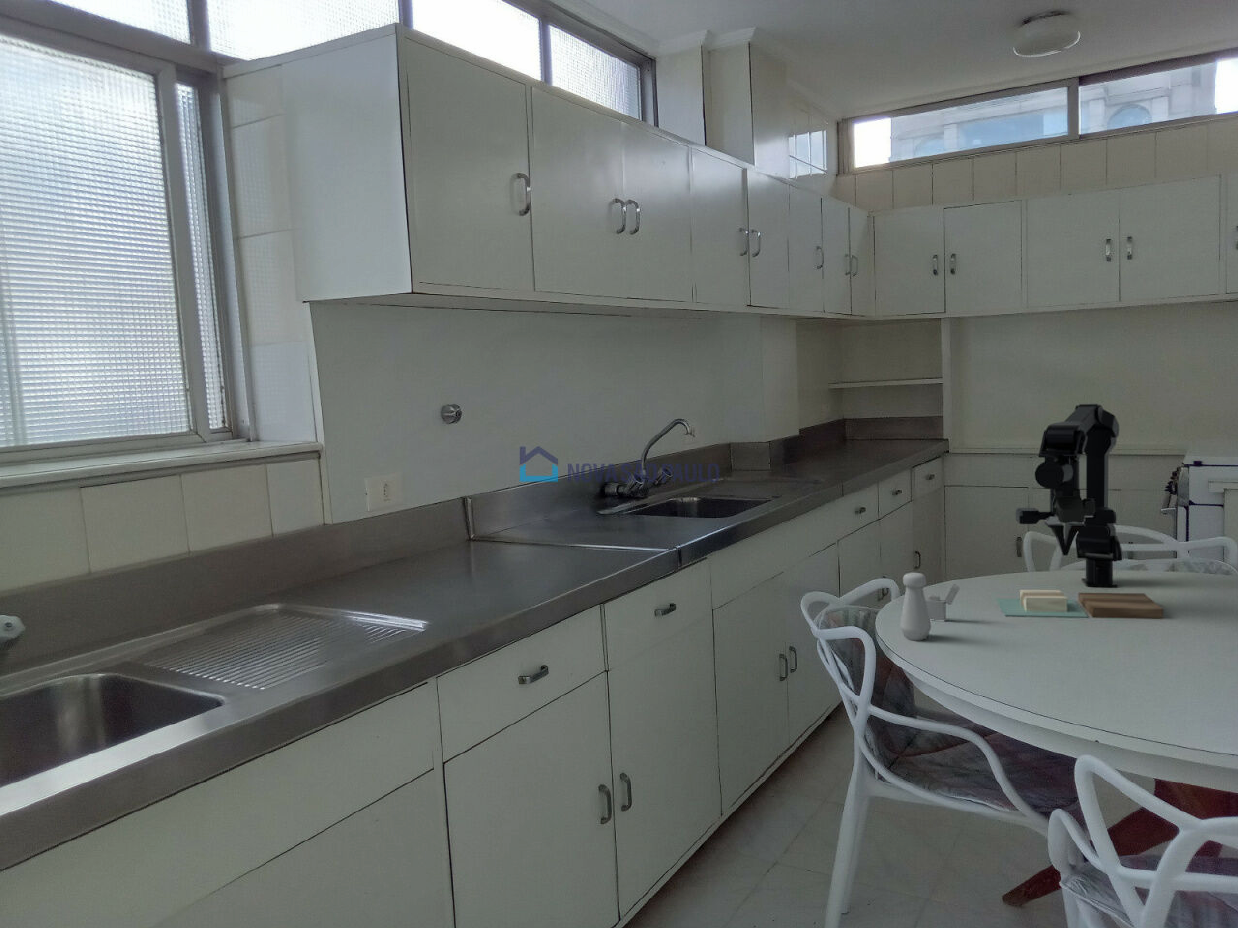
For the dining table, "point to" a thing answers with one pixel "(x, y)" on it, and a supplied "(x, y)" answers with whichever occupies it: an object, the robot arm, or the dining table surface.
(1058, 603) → the birch tile
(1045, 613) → the rubber mat
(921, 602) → the salt shaker
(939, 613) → the lighter
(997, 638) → the dining table surface
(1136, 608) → the walnut board
